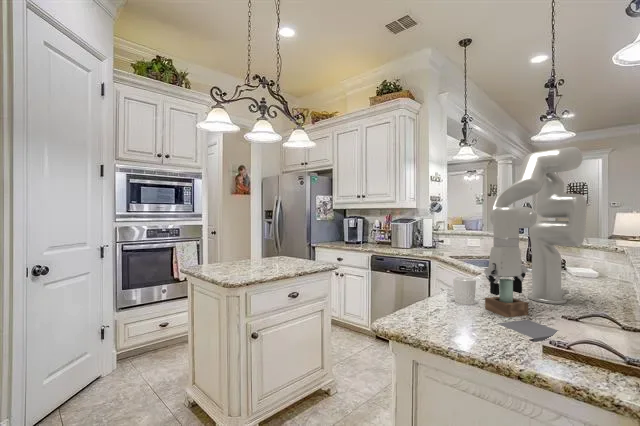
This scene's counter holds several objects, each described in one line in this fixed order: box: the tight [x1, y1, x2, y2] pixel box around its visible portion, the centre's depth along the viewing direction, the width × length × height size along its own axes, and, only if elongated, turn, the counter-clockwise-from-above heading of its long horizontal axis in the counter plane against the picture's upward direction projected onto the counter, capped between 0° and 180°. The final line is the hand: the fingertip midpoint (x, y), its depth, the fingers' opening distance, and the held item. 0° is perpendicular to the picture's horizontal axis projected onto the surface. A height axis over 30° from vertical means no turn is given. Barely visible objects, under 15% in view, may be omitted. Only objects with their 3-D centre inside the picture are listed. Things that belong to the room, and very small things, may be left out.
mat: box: [496, 319, 559, 343], centre depth 92 cm, size 12×12×1 cm
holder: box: [484, 296, 529, 318], centre depth 107 cm, size 9×9×5 cm
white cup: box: [452, 276, 477, 306], centre depth 119 cm, size 8×8×10 cm
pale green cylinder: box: [498, 278, 514, 303], centre depth 107 cm, size 4×4×11 cm
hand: (506, 293), depth 107 cm, fingers open, 9 cm apart
